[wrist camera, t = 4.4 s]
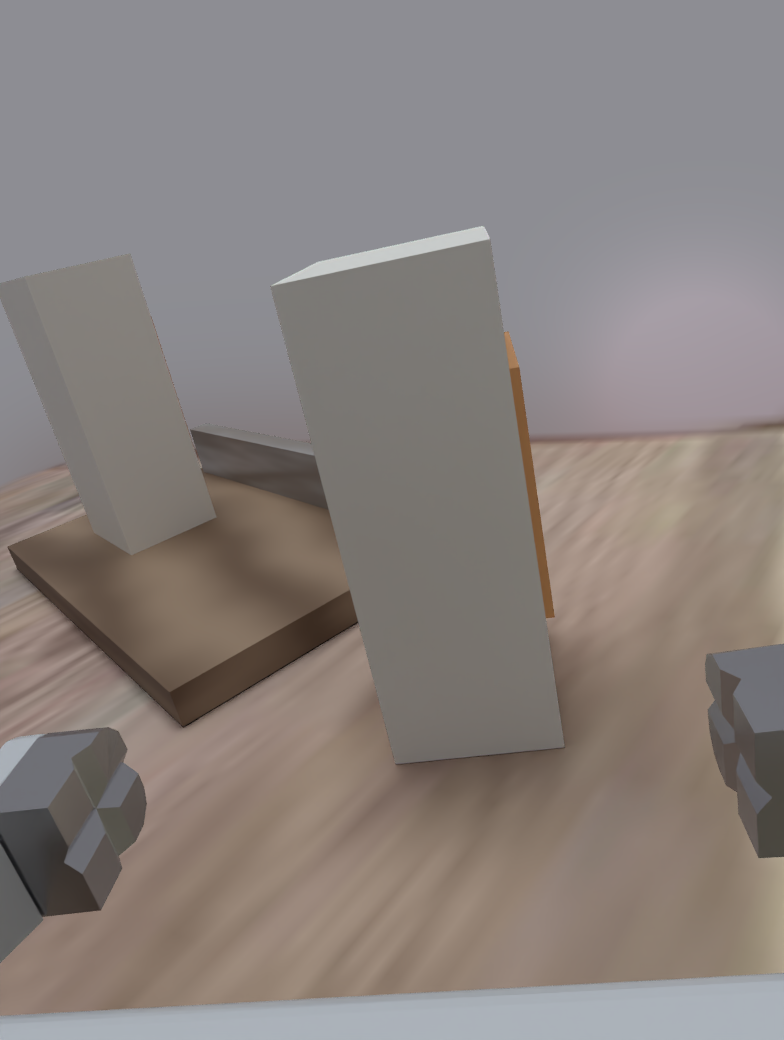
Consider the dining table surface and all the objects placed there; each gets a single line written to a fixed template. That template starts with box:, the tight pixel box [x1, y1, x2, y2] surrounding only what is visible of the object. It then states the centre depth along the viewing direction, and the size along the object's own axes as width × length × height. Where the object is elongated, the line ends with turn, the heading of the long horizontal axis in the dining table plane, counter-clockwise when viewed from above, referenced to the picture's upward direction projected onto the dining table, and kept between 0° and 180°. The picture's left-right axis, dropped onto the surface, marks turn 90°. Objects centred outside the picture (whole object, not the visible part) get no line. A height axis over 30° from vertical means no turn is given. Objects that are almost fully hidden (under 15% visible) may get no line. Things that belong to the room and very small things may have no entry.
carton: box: [0, 254, 216, 555], centre depth 39 cm, size 5×6×14 cm
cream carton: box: [270, 226, 565, 764], centre depth 22 cm, size 5×6×14 cm
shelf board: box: [8, 424, 358, 727], centre depth 38 cm, size 14×24×4 cm, turn 40°
